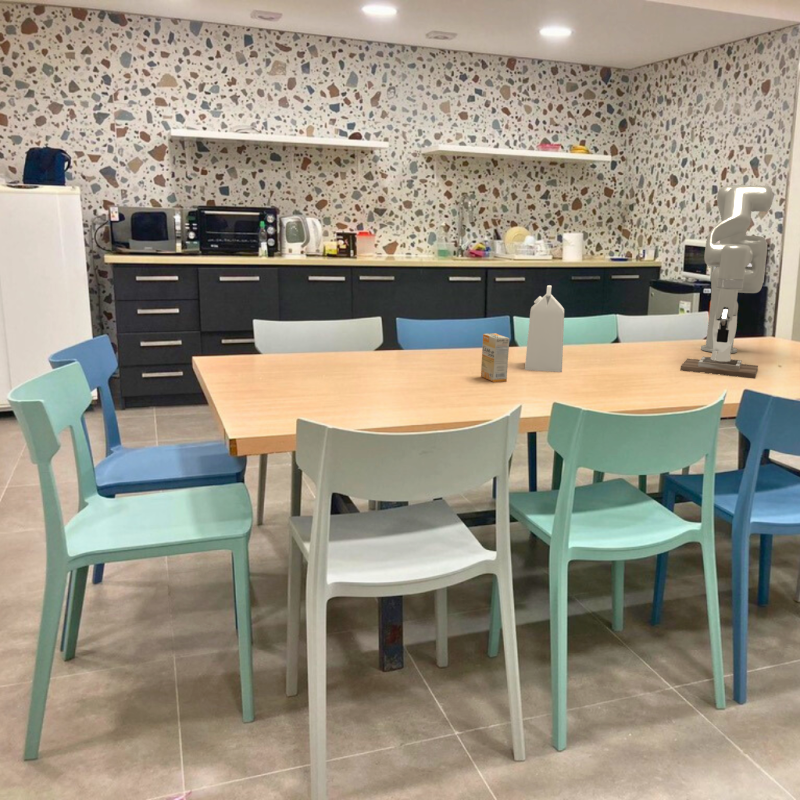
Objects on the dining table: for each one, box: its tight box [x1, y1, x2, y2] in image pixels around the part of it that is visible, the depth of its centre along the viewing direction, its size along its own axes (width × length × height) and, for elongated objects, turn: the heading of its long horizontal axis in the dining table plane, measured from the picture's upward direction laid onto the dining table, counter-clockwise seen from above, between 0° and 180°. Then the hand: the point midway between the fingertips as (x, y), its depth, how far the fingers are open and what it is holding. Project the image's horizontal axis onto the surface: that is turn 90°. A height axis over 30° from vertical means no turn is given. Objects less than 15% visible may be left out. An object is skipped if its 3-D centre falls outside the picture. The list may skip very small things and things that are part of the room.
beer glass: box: [710, 314, 738, 362], centre depth 245 cm, size 7×7×15 cm
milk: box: [524, 284, 565, 373], centre depth 241 cm, size 12×12×26 cm
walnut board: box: [679, 356, 759, 379], centre depth 247 cm, size 16×22×3 cm
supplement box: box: [480, 332, 510, 383], centre depth 222 cm, size 8×5×13 cm, turn 21°
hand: (722, 340), depth 245 cm, fingers closed on beer glass, 6 cm apart
